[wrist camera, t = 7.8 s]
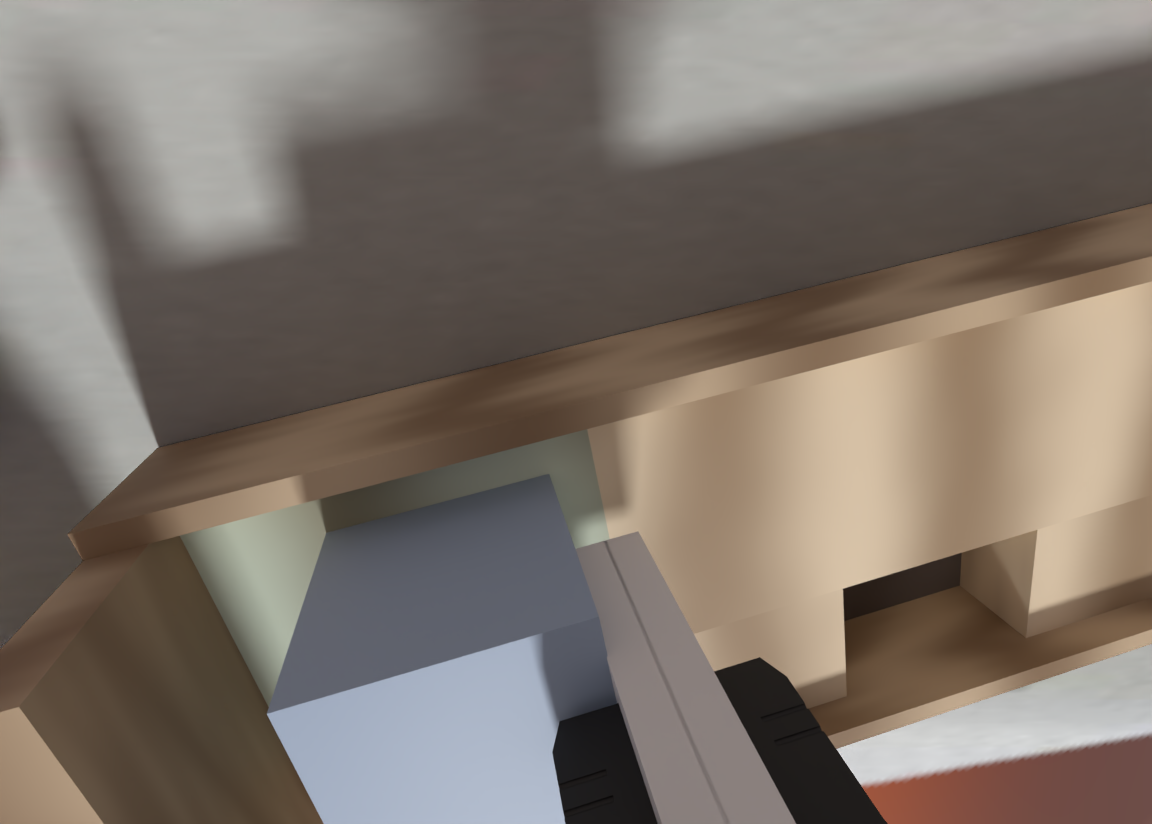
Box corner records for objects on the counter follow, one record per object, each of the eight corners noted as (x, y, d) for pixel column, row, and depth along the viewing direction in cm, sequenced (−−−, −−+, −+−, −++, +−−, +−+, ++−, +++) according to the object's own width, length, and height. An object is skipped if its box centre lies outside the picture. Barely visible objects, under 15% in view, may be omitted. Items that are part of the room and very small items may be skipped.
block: (548, 474, 14) (598, 616, 10) (589, 643, 16) (646, 829, 12) (326, 532, 14) (266, 713, 9) (394, 701, 16) (373, 920, 11)
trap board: (1212, 188, 19) (1718, 197, 11) (1148, 533, 23) (1474, 699, 16) (157, 447, 15) (-109, 701, 8) (328, 788, 20) (261, 1145, 13)
